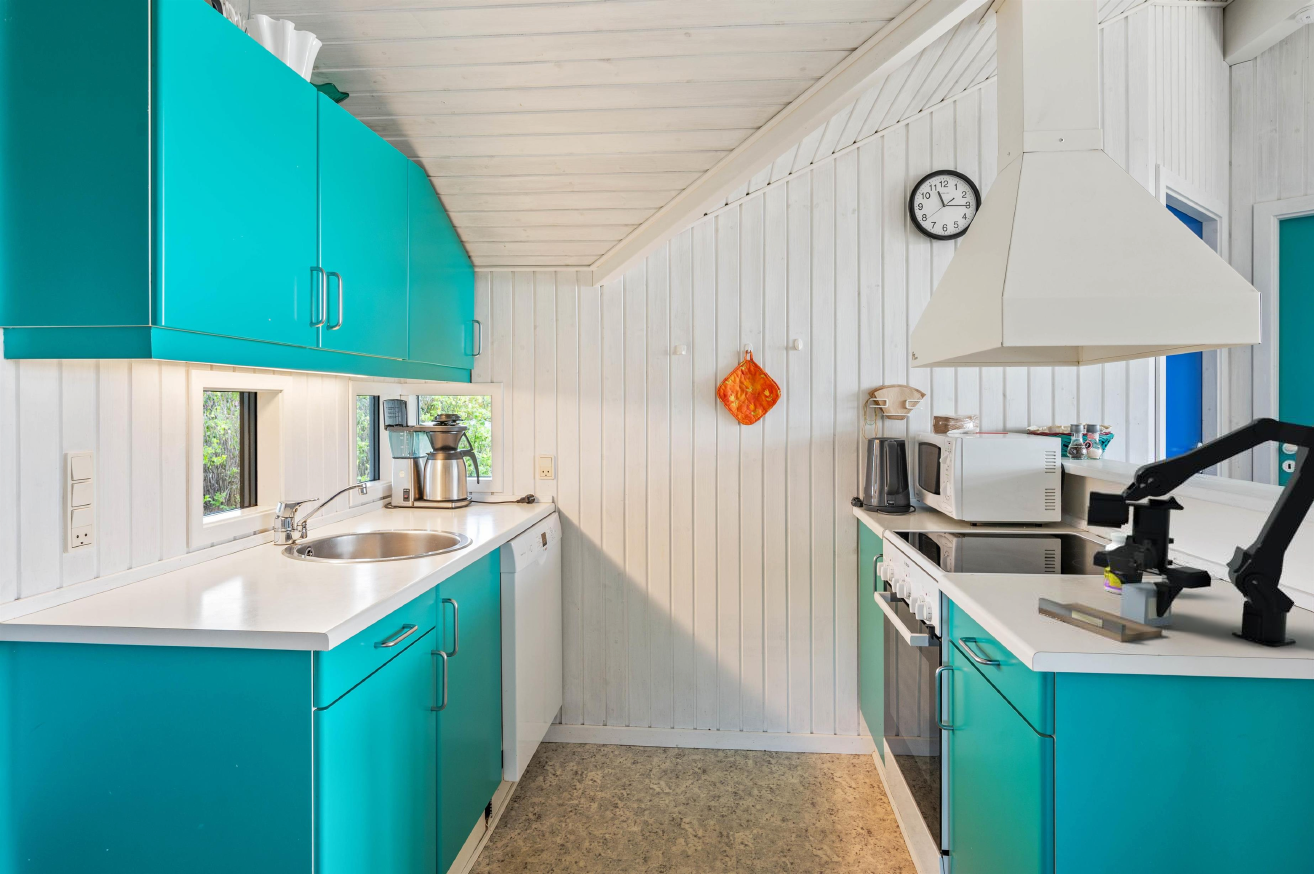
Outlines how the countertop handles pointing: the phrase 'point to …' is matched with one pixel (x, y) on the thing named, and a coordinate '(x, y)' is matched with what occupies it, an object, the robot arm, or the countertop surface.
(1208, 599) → the countertop surface
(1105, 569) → the supplement bottle
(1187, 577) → the robot arm
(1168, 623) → the carton
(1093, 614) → the shelf board
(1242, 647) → the countertop surface
